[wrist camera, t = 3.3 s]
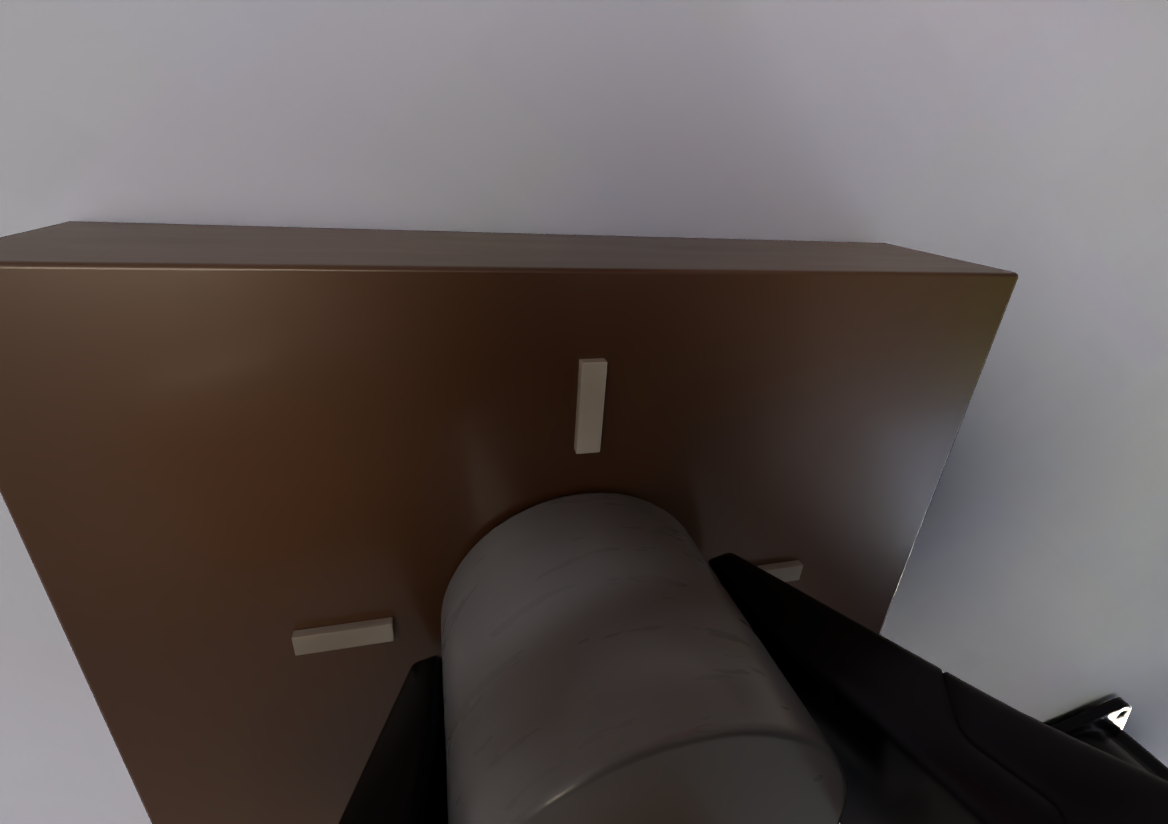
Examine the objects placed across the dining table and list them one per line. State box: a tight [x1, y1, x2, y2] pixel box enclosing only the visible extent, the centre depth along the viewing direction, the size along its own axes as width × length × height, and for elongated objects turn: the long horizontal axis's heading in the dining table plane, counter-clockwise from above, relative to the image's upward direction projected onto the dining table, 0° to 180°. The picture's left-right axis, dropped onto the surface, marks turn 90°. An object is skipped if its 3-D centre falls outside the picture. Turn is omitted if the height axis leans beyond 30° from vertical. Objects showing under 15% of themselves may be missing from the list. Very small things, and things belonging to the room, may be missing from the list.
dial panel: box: [0, 221, 1018, 824], centre depth 11 cm, size 14×11×3 cm
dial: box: [441, 492, 847, 824], centre depth 7 cm, size 4×4×4 cm
